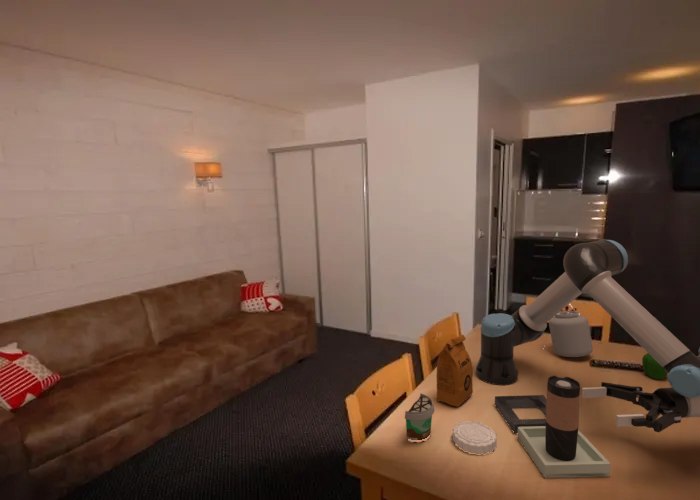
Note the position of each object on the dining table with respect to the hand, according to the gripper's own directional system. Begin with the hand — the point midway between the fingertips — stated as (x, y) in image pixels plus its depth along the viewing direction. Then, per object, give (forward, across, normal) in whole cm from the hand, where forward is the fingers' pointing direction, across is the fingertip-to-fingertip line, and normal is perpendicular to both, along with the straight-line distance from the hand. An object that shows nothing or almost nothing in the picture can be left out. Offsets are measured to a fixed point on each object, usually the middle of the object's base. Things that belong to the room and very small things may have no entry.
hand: (598, 406), depth 102 cm
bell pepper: (-49, +40, -14) cm, 65 cm away
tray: (+10, 0, -14) cm, 17 cm away
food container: (+44, +11, -14) cm, 48 cm away
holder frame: (+9, +18, -14) cm, 24 cm away
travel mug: (+10, 0, -13) cm, 16 cm away
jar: (-29, +63, -14) cm, 71 cm away
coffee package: (+29, +31, -14) cm, 45 cm away
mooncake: (+30, +7, -14) cm, 34 cm away
